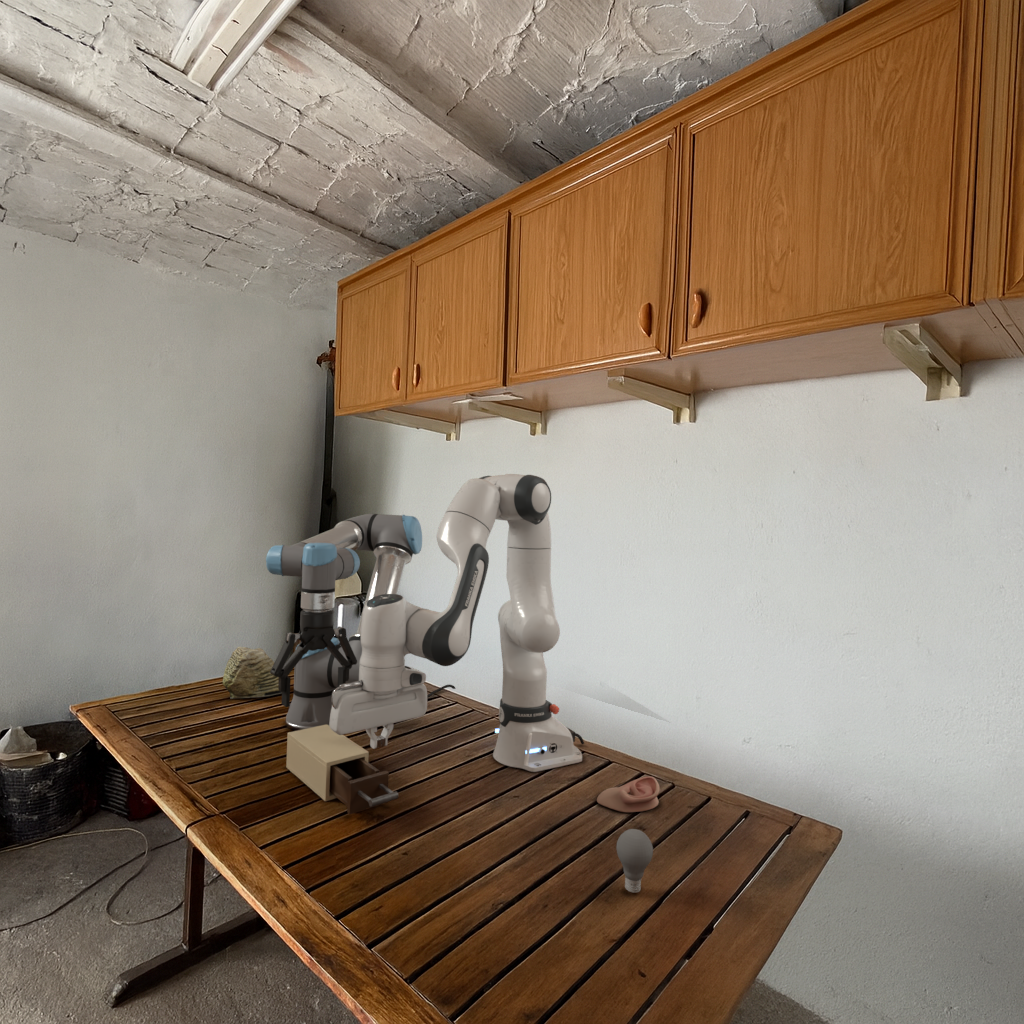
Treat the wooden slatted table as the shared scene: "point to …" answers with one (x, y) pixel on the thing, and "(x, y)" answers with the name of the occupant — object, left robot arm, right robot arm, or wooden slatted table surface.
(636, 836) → the light bulb
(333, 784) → the drawer
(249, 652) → the fossil
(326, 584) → the left robot arm
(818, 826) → the wooden slatted table surface
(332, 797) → the cabinet
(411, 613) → the right robot arm
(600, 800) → the anatomical model
